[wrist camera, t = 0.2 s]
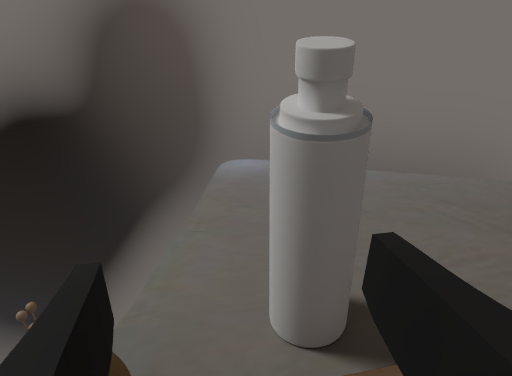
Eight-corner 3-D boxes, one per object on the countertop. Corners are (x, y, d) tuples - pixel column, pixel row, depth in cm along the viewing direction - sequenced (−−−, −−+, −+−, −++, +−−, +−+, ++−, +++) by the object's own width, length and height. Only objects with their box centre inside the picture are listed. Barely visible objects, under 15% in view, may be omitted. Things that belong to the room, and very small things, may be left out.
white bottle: (293, 280, 42) (304, 3, 29) (358, 309, 38) (402, 10, 26) (254, 325, 37) (247, 17, 24) (324, 362, 34) (358, 28, 21)
